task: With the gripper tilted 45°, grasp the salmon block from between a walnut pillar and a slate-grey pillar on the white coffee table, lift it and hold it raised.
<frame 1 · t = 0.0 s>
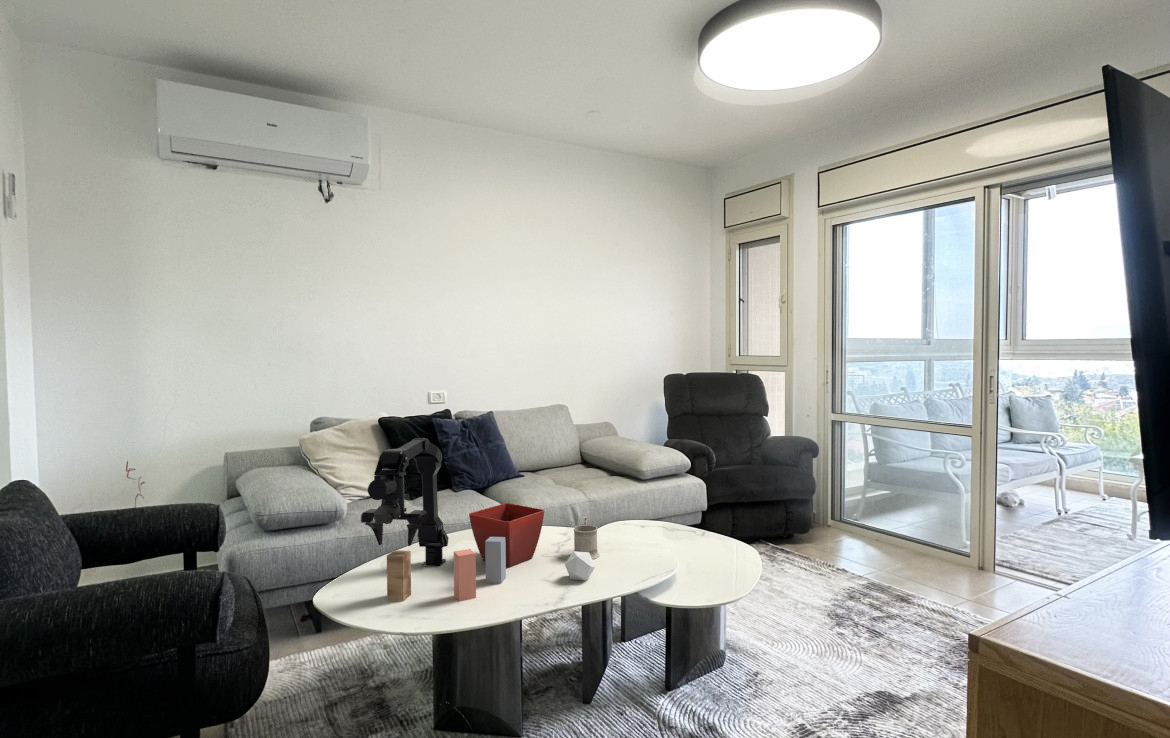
hand: (394, 545, 178), 15 cm above the table, tool pointing down, fingers open, 9 cm apart
salmon block: (465, 596, 177), on the table
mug: (586, 554, 216), on the table
walnut pillar: (399, 597, 177), on the table
slate pillar: (495, 580, 190), on the table
plant pot: (507, 560, 210), on the table
die: (580, 579, 191), on the table
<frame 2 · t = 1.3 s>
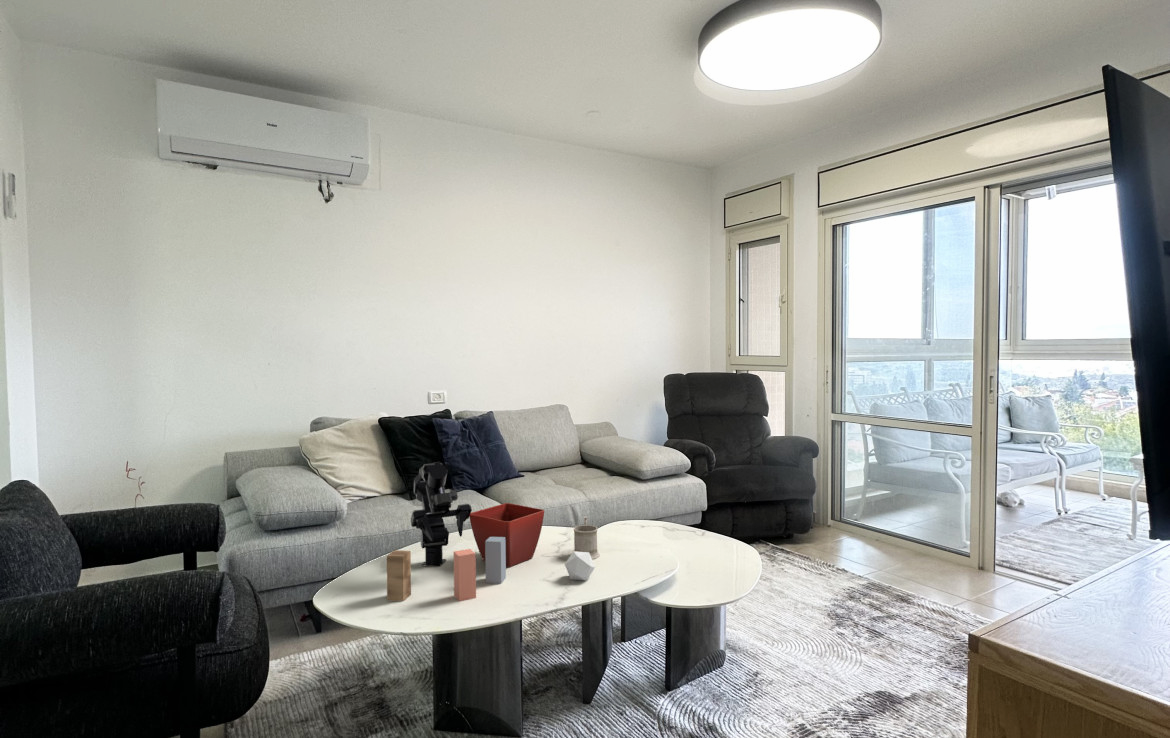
hand: (446, 538, 190), 13 cm above the table, tool tilted 45°, fingers open, 9 cm apart
nothing on the table moved.
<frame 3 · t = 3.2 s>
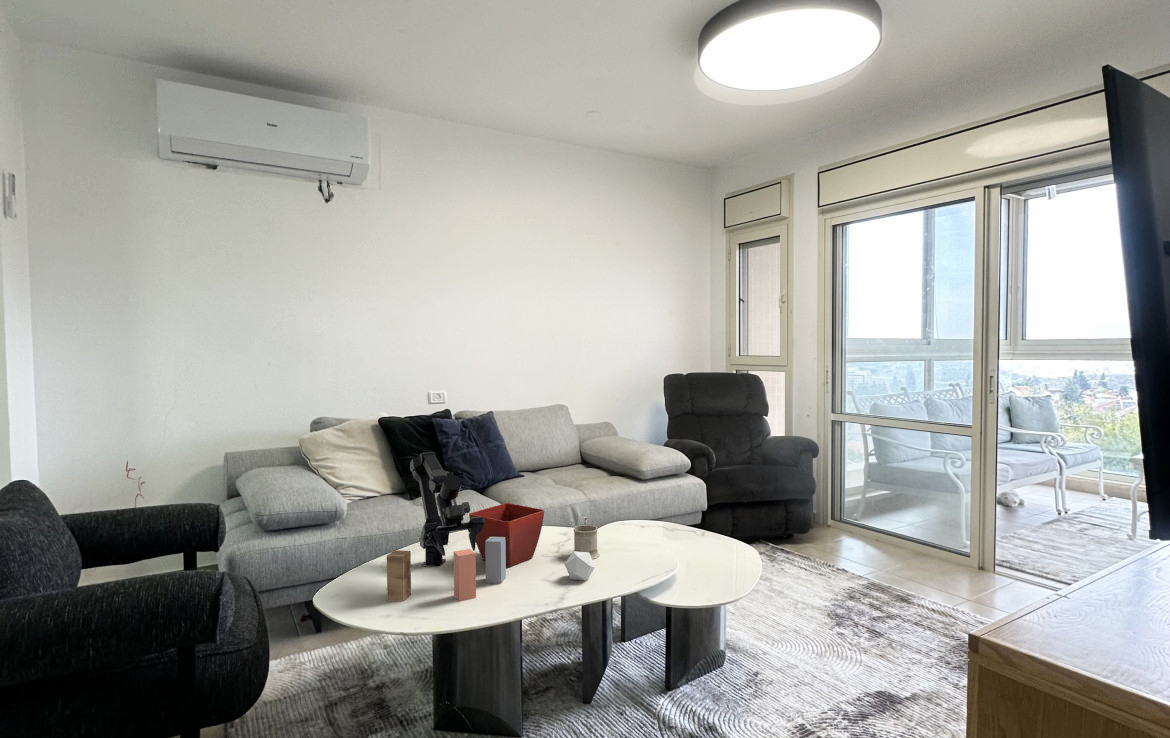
hand: (459, 552, 181), 12 cm above the table, tool tilted 45°, fingers open, 9 cm apart
nothing on the table moved.
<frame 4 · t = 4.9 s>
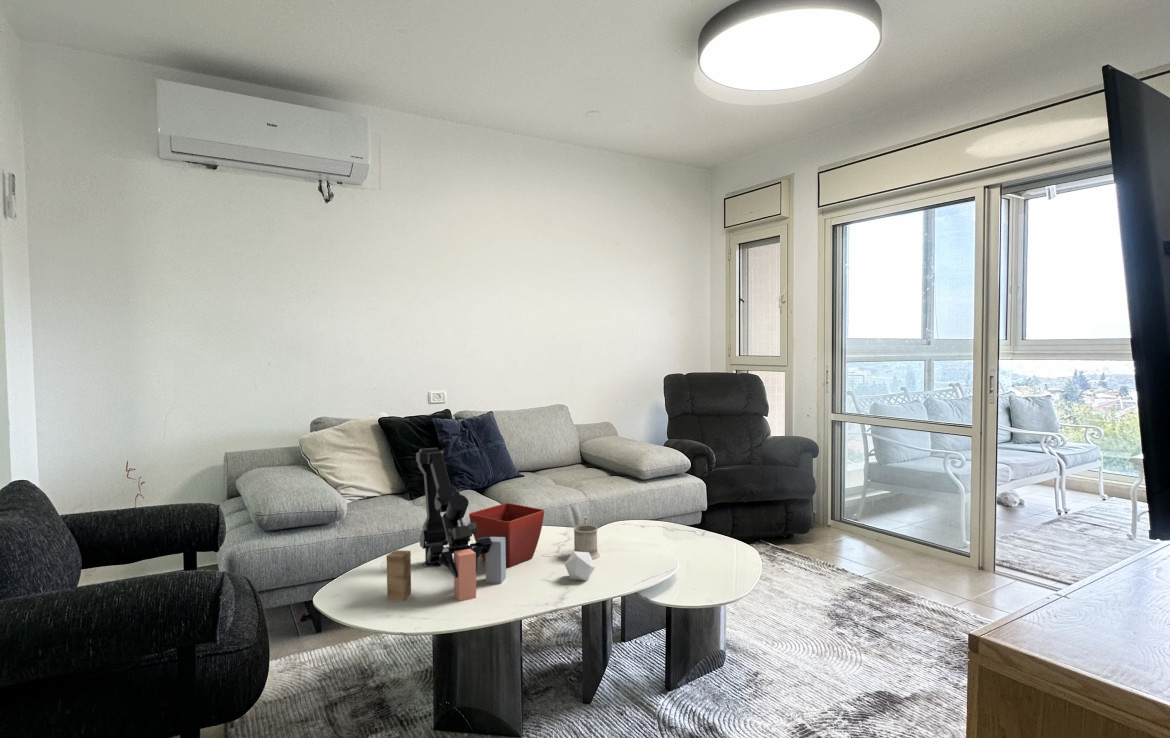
hand: (466, 575, 175), 7 cm above the table, tool tilted 45°, fingers closed on salmon block, 5 cm apart
salmon block: (465, 596, 177), on the table, touching gripper
everything else where it was.
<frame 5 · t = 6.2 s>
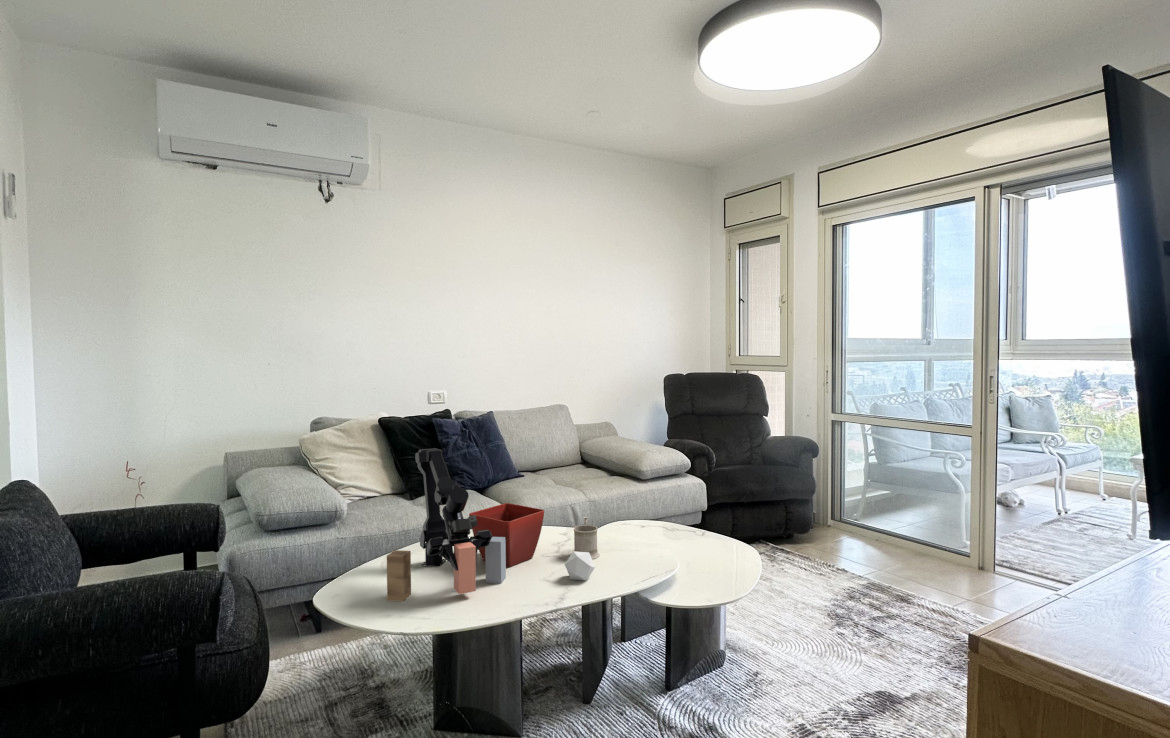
hand: (466, 568, 175), 9 cm above the table, tool tilted 45°, fingers closed on salmon block, 5 cm apart
salmon block: (464, 589, 177), point 2 cm above the table, touching gripper
everything else where it was.
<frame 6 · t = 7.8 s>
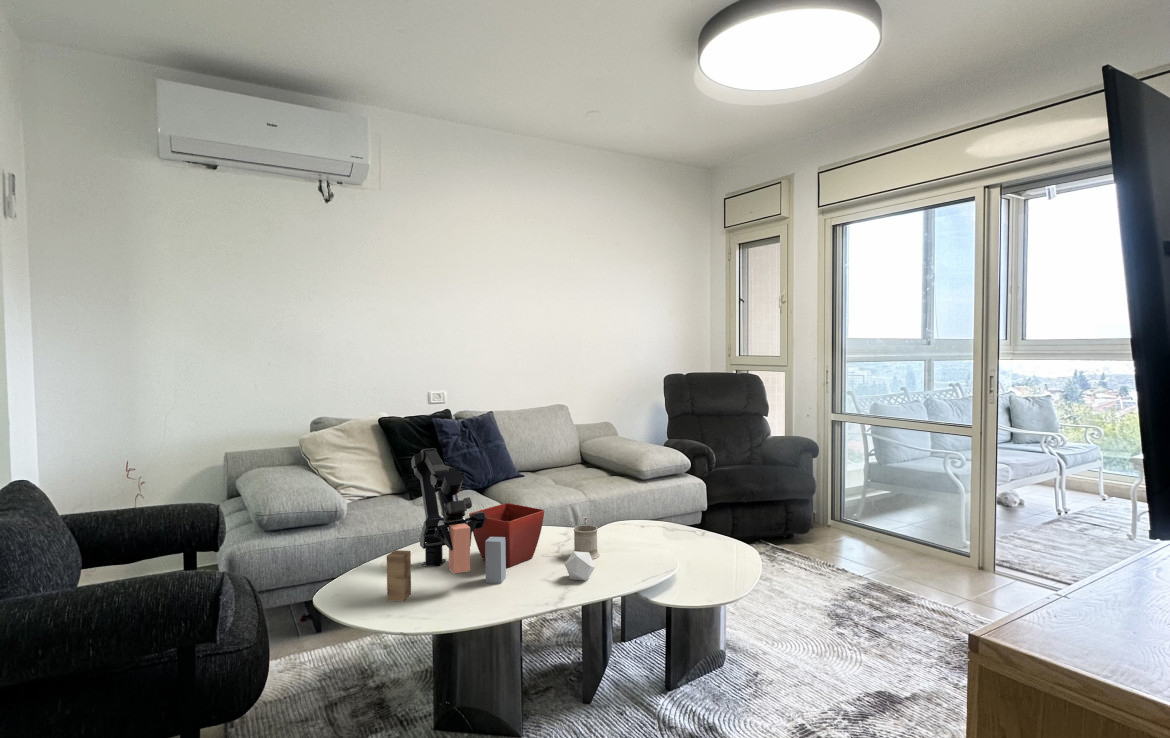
hand: (460, 548, 179), 13 cm above the table, tool tilted 45°, fingers closed on salmon block, 5 cm apart
salmon block: (459, 569, 181), point 7 cm above the table, touching gripper
everything else where it was.
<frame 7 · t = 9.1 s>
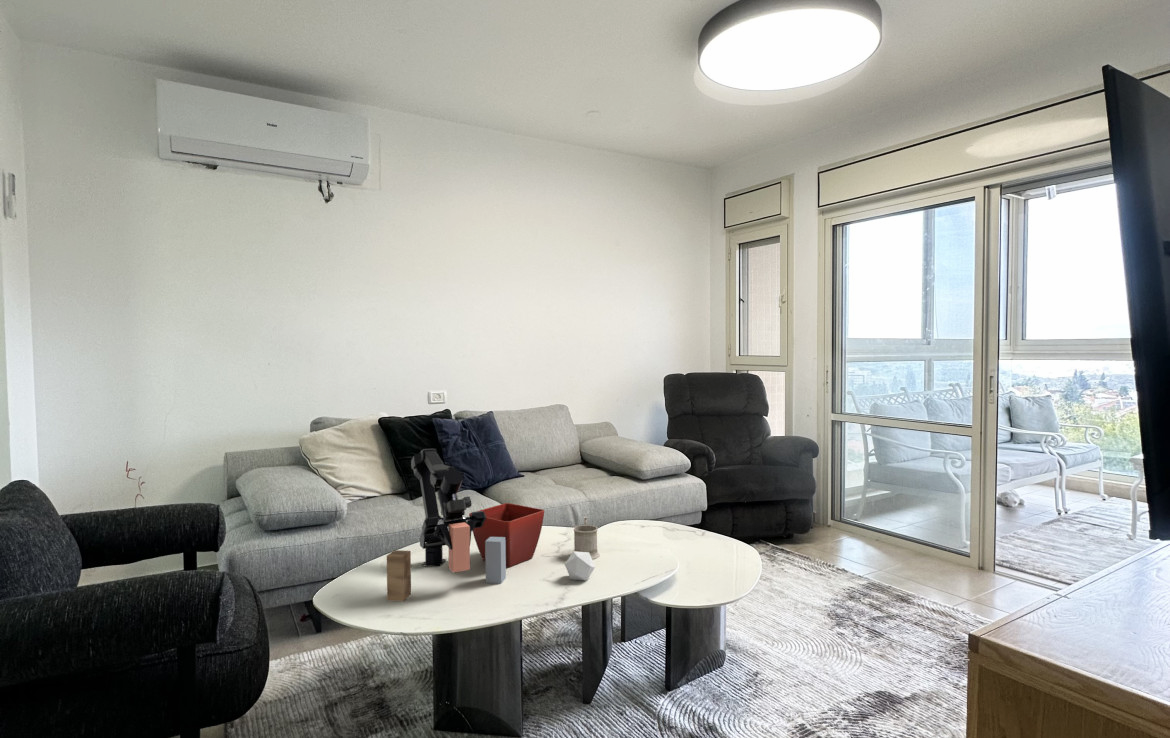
hand: (460, 547, 180), 13 cm above the table, tool tilted 45°, fingers closed on salmon block, 5 cm apart
salmon block: (459, 568, 181), point 7 cm above the table, touching gripper
everything else where it was.
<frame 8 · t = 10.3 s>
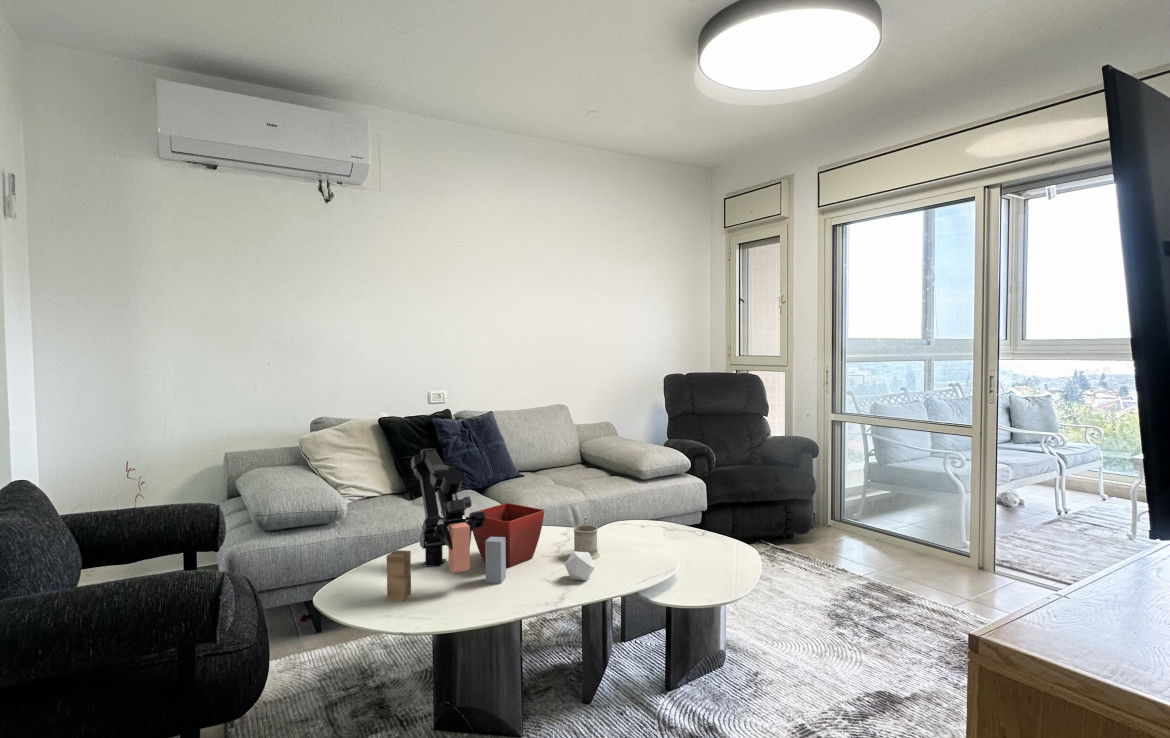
hand: (460, 547, 180), 13 cm above the table, tool tilted 45°, fingers closed on salmon block, 5 cm apart
salmon block: (459, 568, 181), point 7 cm above the table, touching gripper
everything else where it was.
at the end: salmon block point 6.8 cm above the table; walnut pillar moved 0.0 cm from its start; slate pillar moved 0.0 cm from its start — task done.
